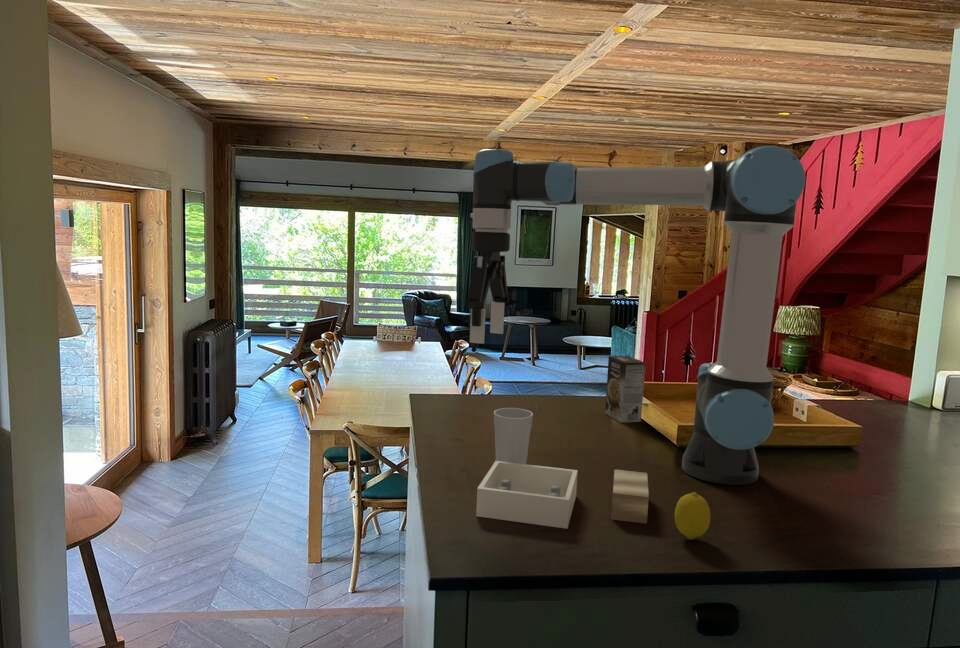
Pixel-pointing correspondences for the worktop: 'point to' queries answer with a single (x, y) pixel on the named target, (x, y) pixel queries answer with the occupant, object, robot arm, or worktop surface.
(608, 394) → the coffee box
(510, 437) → the cup
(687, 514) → the lemon
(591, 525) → the worktop surface
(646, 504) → the beige rectangular block
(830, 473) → the worktop surface
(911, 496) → the worktop surface
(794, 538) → the worktop surface
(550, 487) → the white open box
